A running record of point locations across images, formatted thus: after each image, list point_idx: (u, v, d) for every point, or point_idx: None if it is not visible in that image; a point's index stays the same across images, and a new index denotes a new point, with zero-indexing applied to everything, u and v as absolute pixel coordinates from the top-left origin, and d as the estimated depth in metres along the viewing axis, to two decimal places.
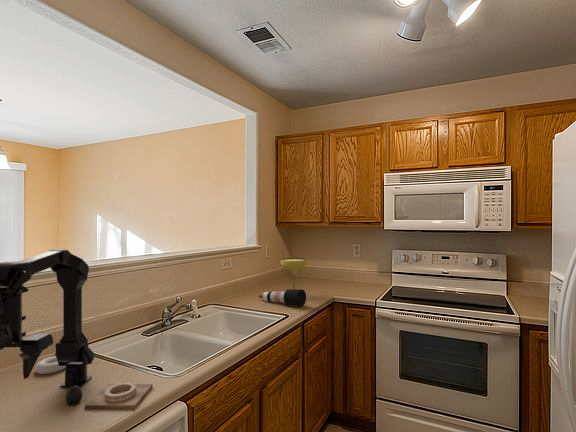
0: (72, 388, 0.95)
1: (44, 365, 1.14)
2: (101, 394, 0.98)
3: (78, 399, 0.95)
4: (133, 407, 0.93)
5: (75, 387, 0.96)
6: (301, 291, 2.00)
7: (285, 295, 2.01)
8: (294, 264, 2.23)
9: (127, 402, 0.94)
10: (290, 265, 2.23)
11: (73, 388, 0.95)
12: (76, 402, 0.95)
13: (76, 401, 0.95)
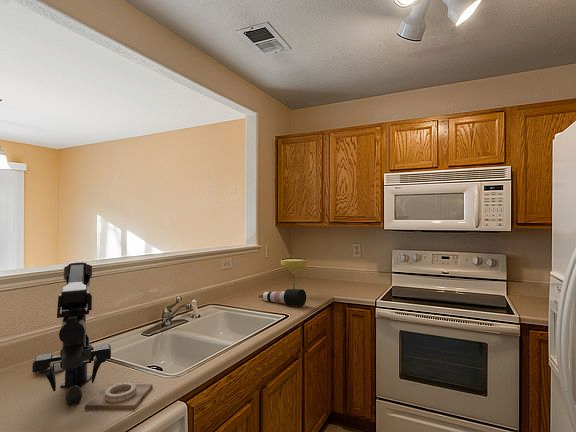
0: (72, 388, 0.95)
1: None
2: (101, 394, 0.98)
3: (78, 399, 0.95)
4: (133, 407, 0.93)
5: (75, 387, 0.96)
6: (301, 291, 2.01)
7: (285, 295, 2.01)
8: (294, 264, 2.23)
9: (127, 402, 0.94)
10: (290, 265, 2.23)
11: (73, 388, 0.95)
12: (76, 402, 0.95)
13: (76, 401, 0.95)
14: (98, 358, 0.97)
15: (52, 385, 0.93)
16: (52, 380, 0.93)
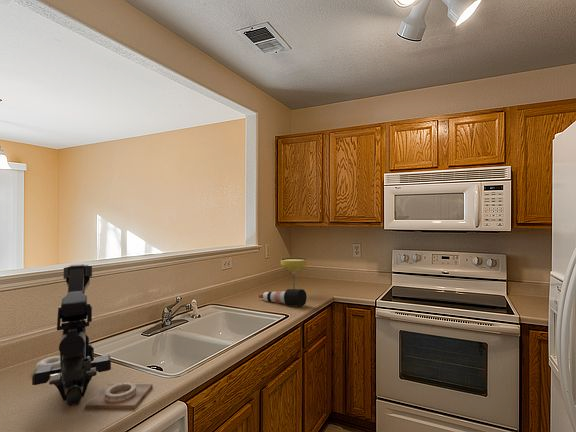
0: (72, 388, 0.95)
1: (44, 365, 1.14)
2: (101, 394, 0.98)
3: (78, 399, 0.95)
4: (133, 407, 0.93)
5: (75, 387, 0.96)
6: (301, 291, 2.01)
7: (286, 295, 2.01)
8: (294, 264, 2.23)
9: (127, 402, 0.94)
10: (290, 265, 2.23)
11: (73, 388, 0.95)
12: (76, 402, 0.95)
13: (76, 401, 0.95)
14: (98, 370, 0.96)
15: (62, 395, 0.94)
16: (62, 390, 0.94)
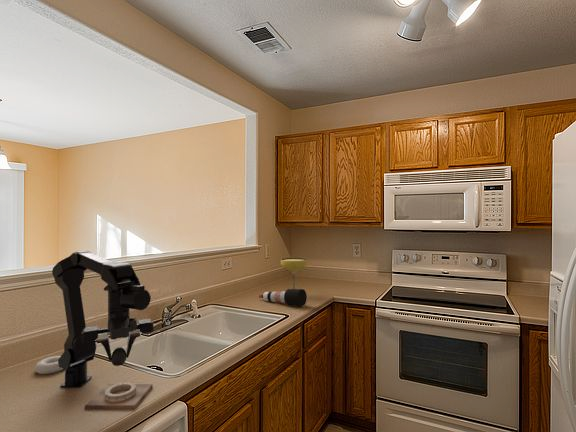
0: (117, 349, 0.98)
1: (44, 365, 1.14)
2: (101, 394, 0.98)
3: (123, 360, 0.98)
4: (133, 407, 0.93)
5: (120, 348, 0.98)
6: (302, 291, 2.01)
7: (286, 295, 2.02)
8: (294, 264, 2.23)
9: (127, 402, 0.94)
10: (290, 265, 2.23)
11: (118, 349, 0.98)
12: (121, 363, 0.98)
13: (121, 361, 0.97)
14: (142, 331, 0.99)
15: (108, 355, 0.97)
16: (108, 350, 0.96)
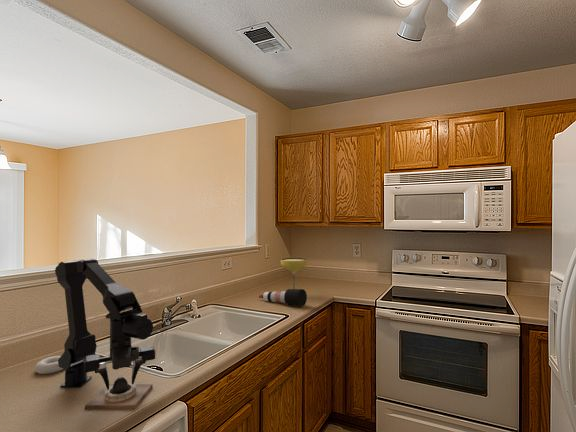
0: (119, 379, 0.98)
1: (44, 365, 1.14)
2: (101, 394, 0.98)
3: (125, 390, 0.98)
4: (133, 407, 0.93)
5: (122, 378, 0.99)
6: (302, 291, 2.01)
7: (286, 295, 2.02)
8: (294, 264, 2.23)
9: (127, 402, 0.94)
10: (290, 265, 2.23)
11: (120, 379, 0.98)
12: None
13: (123, 392, 0.98)
14: (144, 359, 0.99)
15: (106, 384, 0.96)
16: (106, 379, 0.96)
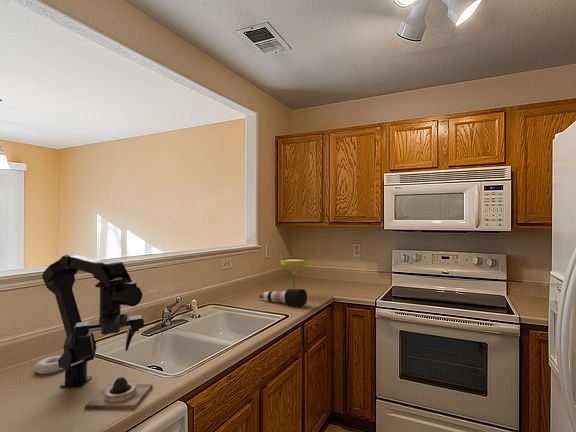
0: (119, 379, 0.98)
1: (44, 365, 1.14)
2: (101, 394, 0.98)
3: (125, 390, 0.98)
4: (133, 407, 0.93)
5: (122, 378, 0.99)
6: (302, 291, 2.01)
7: (286, 295, 2.02)
8: (294, 264, 2.23)
9: (127, 402, 0.94)
10: (290, 265, 2.23)
11: (120, 379, 0.98)
12: None
13: (123, 392, 0.98)
14: (132, 327, 1.02)
15: (90, 351, 0.99)
16: (90, 346, 0.98)
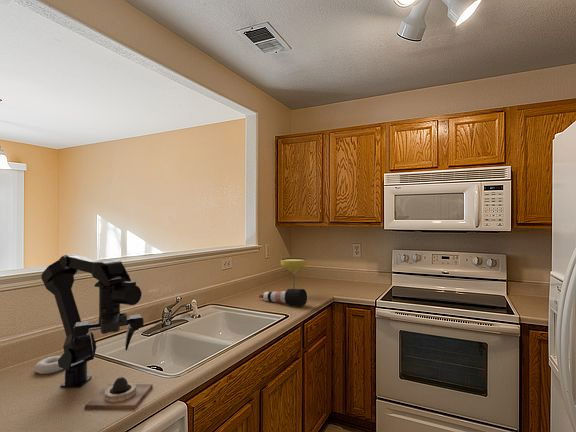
0: (119, 379, 0.98)
1: (44, 365, 1.14)
2: (101, 394, 0.98)
3: (125, 390, 0.98)
4: (133, 407, 0.93)
5: (122, 378, 0.99)
6: (302, 291, 2.01)
7: (286, 295, 2.02)
8: (294, 264, 2.23)
9: (127, 402, 0.94)
10: (290, 265, 2.23)
11: (120, 379, 0.98)
12: None
13: (123, 392, 0.98)
14: (132, 326, 1.02)
15: (90, 350, 0.99)
16: (90, 345, 0.99)
